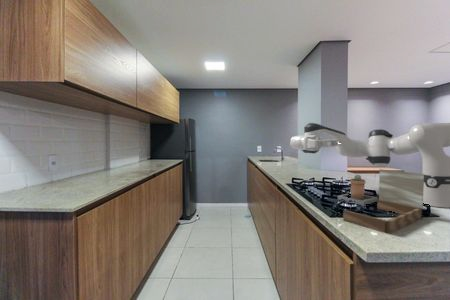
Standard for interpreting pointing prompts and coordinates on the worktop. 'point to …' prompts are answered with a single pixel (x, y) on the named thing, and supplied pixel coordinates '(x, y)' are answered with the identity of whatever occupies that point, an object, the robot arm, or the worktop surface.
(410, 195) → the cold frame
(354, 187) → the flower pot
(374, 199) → the slate tray
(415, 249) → the worktop surface
